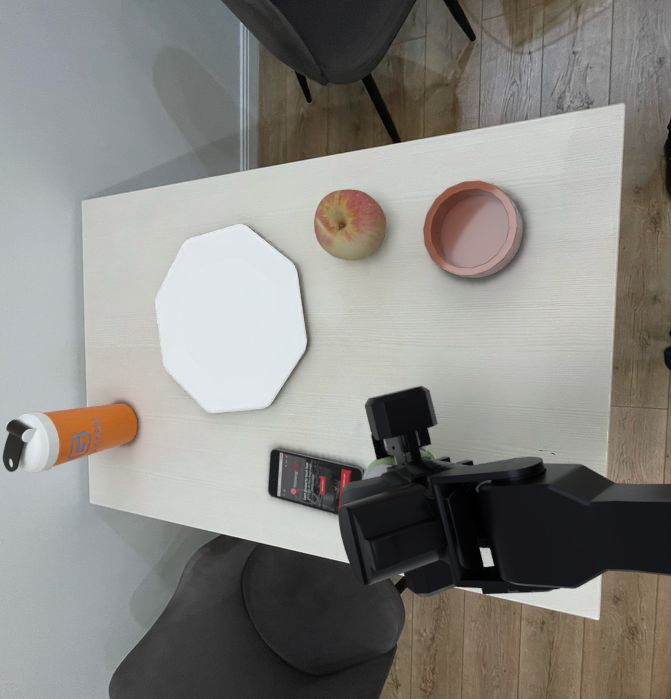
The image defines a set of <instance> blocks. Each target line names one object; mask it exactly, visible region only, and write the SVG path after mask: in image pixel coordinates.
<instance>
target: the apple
mask: <svg viewBox="0 0 671 699" xmlns="http://www.w3.org/2000/svg"><path fill="white" fill-rule="evenodd" d="M313 219H314V220H313V228H314V234H315V238H316V241H317V243H318V244H319V245H320V247H321V248H322V249H323V250H324V251H325V252H326V253H327V254H328V255H330V256H331V257H334V258H335V259H338V260H343V261H349V262H353V261H354V262H355V261H360V260H363V259H365V258H367V257H369V256H370V255H372V254H373V253H375V251H376V250H378V248H379V247H380V245H381V244H382V242H383V240H384V237H385V234H386V230H387V219H386V215H385V212H384V211H383V208H382V207H381V205H380V204H379V203H378V201H377V200H376V199H375V198H374V197H372V196H371V195H370V194H369V193H366V192H365V191H362V190H358V189H353V188H351V189H350V188H349V189H348V188H347V189H337V190H335V191H331V192H329V193H328V194H326V195H325V196H324V197H323V198H322V199H321V200H320V202H319V203H318V204H317V207H316V210H315V213H314V218H313Z"/></svg>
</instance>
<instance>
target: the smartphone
mask: <svg viewBox="0 0 671 699" xmlns="http://www.w3.org/2000/svg"><path fill="white" fill-rule="evenodd" d="M268 468H269V470H268V488H267V493H268V495H269V496H270V497H271V498H275V499H279V500H282V501H285V502H289V503H293V504H296V505H300V506H303V507H304V506H305V507H309V508H310V509H311V508H312V509H314V510H319V511H321V512H326V513H330V514H333V515H337V516H338V512H339V507H340V506H341V504H340V497H341V493H342V489H343V487H344V486H345V485H346V484H347V483H349V482H353V481H360V480H362V479H363V475H364V472H365V471H364V470H363V468H362V467H360V466H357V465H351V464H347V463H345V462H344V463H343V462H339V461H334V460H330V459H326V458H320V457H316V456H312V455H308V454H304V453H299V452H294V451H290V450H285V449H281V448H277V447H275V448H272V449H271V450H270V453H269V467H268Z"/></svg>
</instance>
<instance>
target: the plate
mask: <svg viewBox="0 0 671 699" xmlns="http://www.w3.org/2000/svg"><path fill="white" fill-rule="evenodd" d="M297 268H298V267H297V266H296V264H295V263H294V262H293V261H292V260H290V258H288V257H286V256H285V255H284V254H283V253H282V252H281V251H279V250H278V249H277V248H276V247H274V246H273V245H272V244H271V243H270V242H268V241H267V240H265V239H264V238H263V236H261V235H259V234H258V233H256V231H254V230H253V229H252V228H250V227H249V226H248V225H247V224H242V223H237V224H233V225H230V226H226V227H223V228H220V229H216V230H214V231H210V232H206V233H203V234H200V235H197V236H193V237H189V238H187V239H186V240H185V241H184V242H182V244H181V246H180V248H179V250H178V252H177V254H176V256H175V258H174V260H173V261H172V263H171V266H170V268H169V270H168V271H167V273H166V275H165V278H164V279H163V281H162V283H161V285H160V288H159V289H158V291H157V293H156V295H155V299H154V309H155V316H156V322H157V331H158V337H159V344H160V345H159V346H160V354H161V359H162V365H163V368H164V370H165V371H166V373H167V374H168V375H169V376H170V377H171V378H172V379H173V380H174V381H175V382H176V383H177V385H179V386H180V387H181V388H182V389H183V391H185V392H186V393H187V394H188V395H189V396H190V397H191V398H192V400H194V401H195V402H196V403H197V405H199V406H200V407H201V408H202V409H203V410H204V411H205V412H207V413H210V414H221V413H232V412H233V413H234V412H241V411H254V410H262V409H267V408H268V407H270V406H271V405H272V404H273V403H274V401H275V400H276V398H277V396H278V395H279V393H280V391H281V390H282V389H283V387H284V385H285V384H286V383H287V381H288V379H289V377H290V376H291V374H292V373H293V372H294V370H295V368H296V367H297V365H298V364H299V362H300V360H301V359H302V357H303V356H304V354H305V353H306V351H307V347H308V341H309V339H308V333H307V326H306V319H305V312H304V304H303V298H302V297H303V296H302V292H301V291H302V290H301V284H300V276H299V270H298V269H297Z"/></svg>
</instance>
